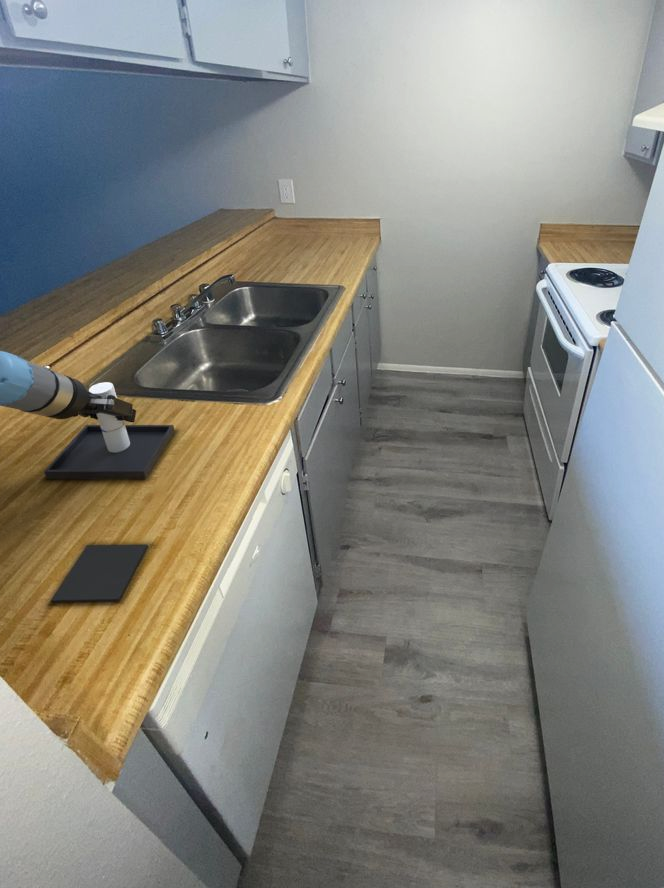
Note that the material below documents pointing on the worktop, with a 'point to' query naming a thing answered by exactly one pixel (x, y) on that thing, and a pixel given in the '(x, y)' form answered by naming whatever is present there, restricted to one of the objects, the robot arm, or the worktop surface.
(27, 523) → the worktop surface
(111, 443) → the tube
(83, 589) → the mat
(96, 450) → the tray
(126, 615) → the worktop surface
